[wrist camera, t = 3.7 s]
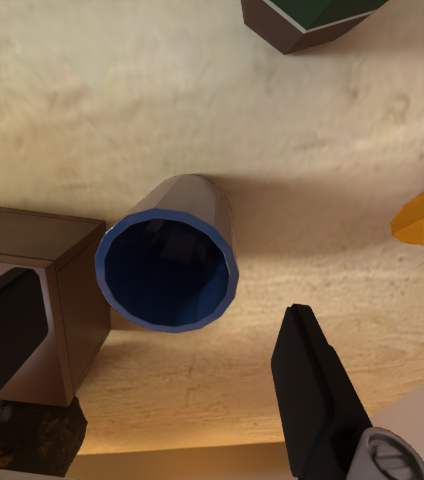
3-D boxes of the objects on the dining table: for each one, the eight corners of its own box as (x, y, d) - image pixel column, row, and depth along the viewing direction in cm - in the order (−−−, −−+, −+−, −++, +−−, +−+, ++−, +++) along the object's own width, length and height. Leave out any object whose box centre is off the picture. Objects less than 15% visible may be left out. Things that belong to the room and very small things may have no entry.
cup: (147, 168, 19) (89, 199, 10) (237, 180, 19) (249, 220, 11) (146, 249, 21) (99, 324, 13) (224, 259, 22) (226, 340, 13)
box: (-17, 314, 25) (-97, 376, 19) (-52, 200, 20) (-173, 232, 14) (111, 330, 25) (74, 396, 19) (105, 220, 20) (54, 260, 14)
